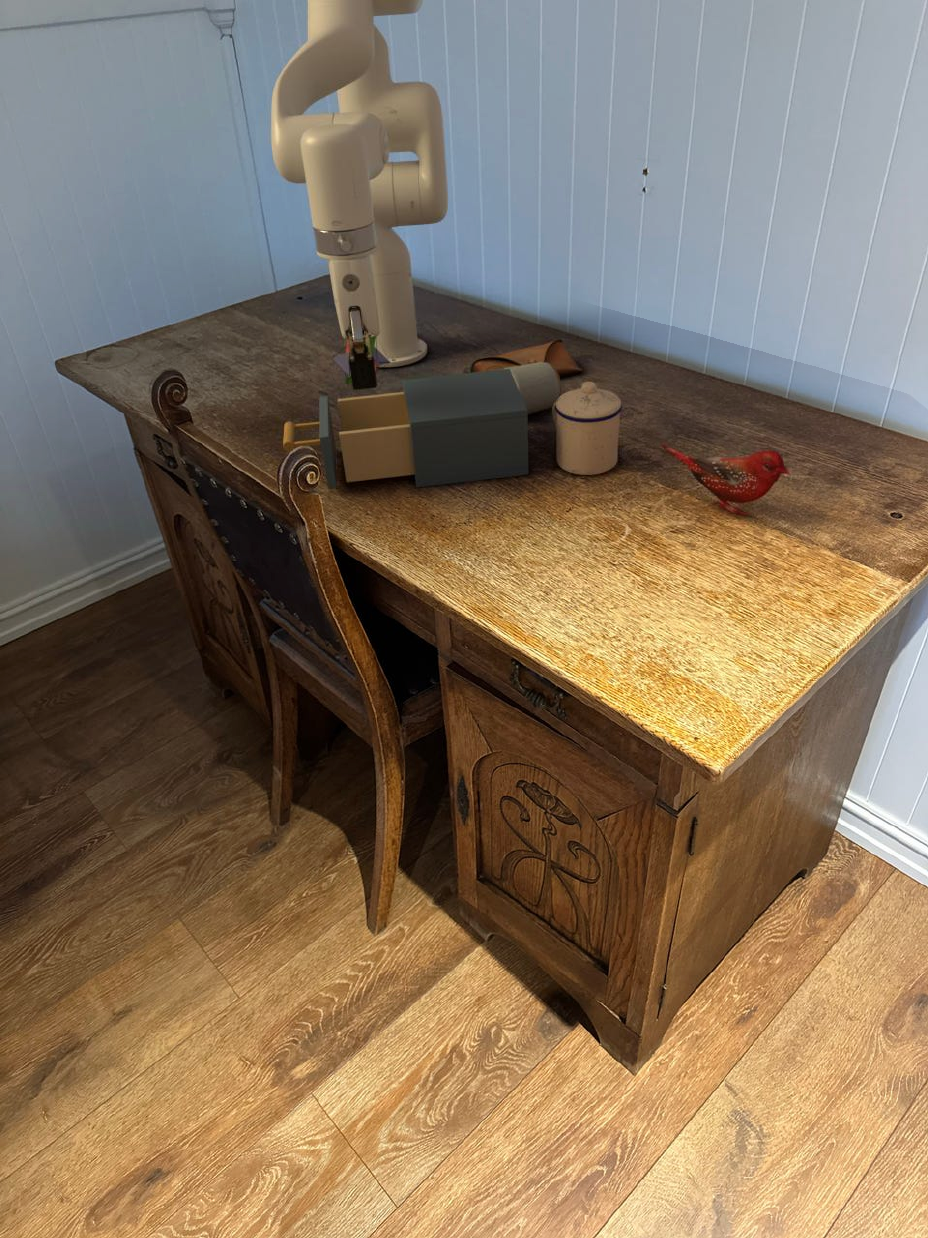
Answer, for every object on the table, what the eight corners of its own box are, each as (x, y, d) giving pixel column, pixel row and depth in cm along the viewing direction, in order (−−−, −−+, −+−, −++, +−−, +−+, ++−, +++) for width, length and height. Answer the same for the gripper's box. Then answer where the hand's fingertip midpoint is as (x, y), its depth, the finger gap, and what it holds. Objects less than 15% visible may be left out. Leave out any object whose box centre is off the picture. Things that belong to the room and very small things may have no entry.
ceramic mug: (564, 412, 141) (564, 364, 136) (520, 425, 138) (519, 377, 133) (528, 390, 148) (527, 344, 144) (485, 403, 146) (483, 357, 141)
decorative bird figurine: (773, 534, 111) (786, 461, 105) (651, 490, 121) (657, 421, 115) (784, 524, 113) (798, 452, 106) (663, 481, 123) (669, 413, 116)
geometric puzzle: (405, 370, 119) (379, 314, 118) (363, 386, 116) (335, 328, 115) (383, 389, 125) (357, 335, 124) (343, 404, 122) (316, 350, 121)
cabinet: (416, 487, 125) (409, 422, 119) (408, 441, 136) (402, 379, 130) (528, 474, 126) (527, 409, 120) (511, 429, 137) (509, 368, 131)
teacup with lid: (632, 463, 127) (637, 385, 120) (582, 483, 123) (584, 404, 116) (578, 433, 135) (579, 358, 128) (529, 452, 131) (528, 376, 124)
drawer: (289, 493, 124) (278, 441, 119) (291, 450, 134) (282, 400, 129) (433, 477, 125) (428, 425, 120) (424, 435, 136) (419, 385, 131)
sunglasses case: (493, 395, 146) (482, 354, 145) (477, 402, 153) (466, 363, 152) (587, 369, 152) (577, 330, 151) (567, 378, 159) (557, 340, 158)
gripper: (379, 256, 104) (395, 399, 115) (372, 218, 118) (387, 349, 129) (315, 262, 104) (337, 405, 115) (315, 223, 118) (335, 354, 128)
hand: (363, 375), depth 122 cm, fingers closed on geometric puzzle, 7 cm apart
